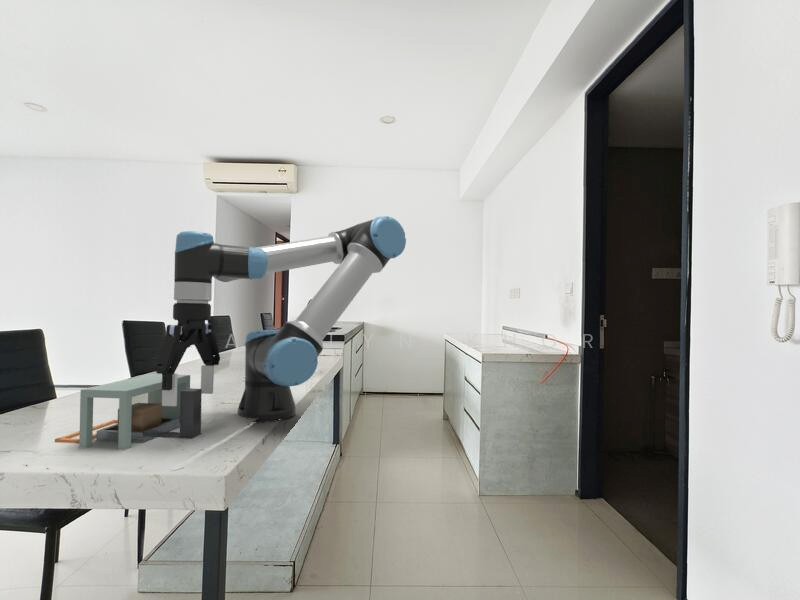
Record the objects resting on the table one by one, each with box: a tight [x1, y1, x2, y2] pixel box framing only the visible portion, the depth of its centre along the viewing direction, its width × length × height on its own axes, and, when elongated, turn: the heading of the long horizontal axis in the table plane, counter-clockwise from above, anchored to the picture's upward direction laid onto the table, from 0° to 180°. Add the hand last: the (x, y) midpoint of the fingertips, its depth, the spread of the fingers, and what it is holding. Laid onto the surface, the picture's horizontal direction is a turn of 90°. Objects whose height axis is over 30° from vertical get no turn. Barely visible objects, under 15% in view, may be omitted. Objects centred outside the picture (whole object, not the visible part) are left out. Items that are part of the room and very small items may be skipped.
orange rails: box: [54, 419, 118, 444], centre depth 97 cm, size 6×16×2 cm, turn 173°
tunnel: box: [78, 373, 191, 451], centre depth 96 cm, size 10×21×12 cm, turn 173°
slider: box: [95, 387, 203, 444], centre depth 95 cm, size 19×12×11 cm, turn 83°
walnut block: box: [117, 402, 162, 432], centre depth 96 cm, size 6×6×6 cm
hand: (189, 399), depth 94 cm, fingers open, 13 cm apart
